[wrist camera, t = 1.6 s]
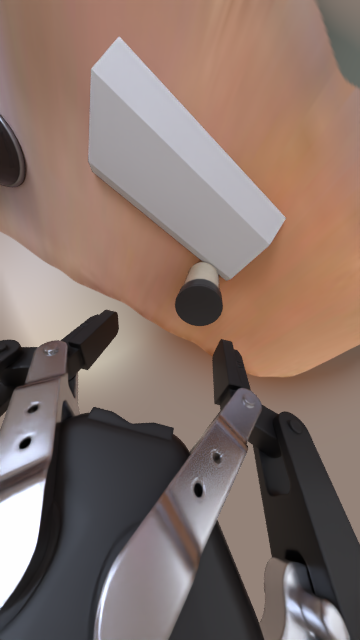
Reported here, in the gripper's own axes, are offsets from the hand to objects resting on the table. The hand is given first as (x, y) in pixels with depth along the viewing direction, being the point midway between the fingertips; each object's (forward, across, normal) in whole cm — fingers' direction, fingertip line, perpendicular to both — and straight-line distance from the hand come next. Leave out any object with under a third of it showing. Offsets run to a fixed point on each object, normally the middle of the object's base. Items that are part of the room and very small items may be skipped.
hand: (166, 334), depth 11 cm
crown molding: (+22, +3, -11) cm, 25 cm away
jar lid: (+10, -3, +2) cm, 11 cm away
